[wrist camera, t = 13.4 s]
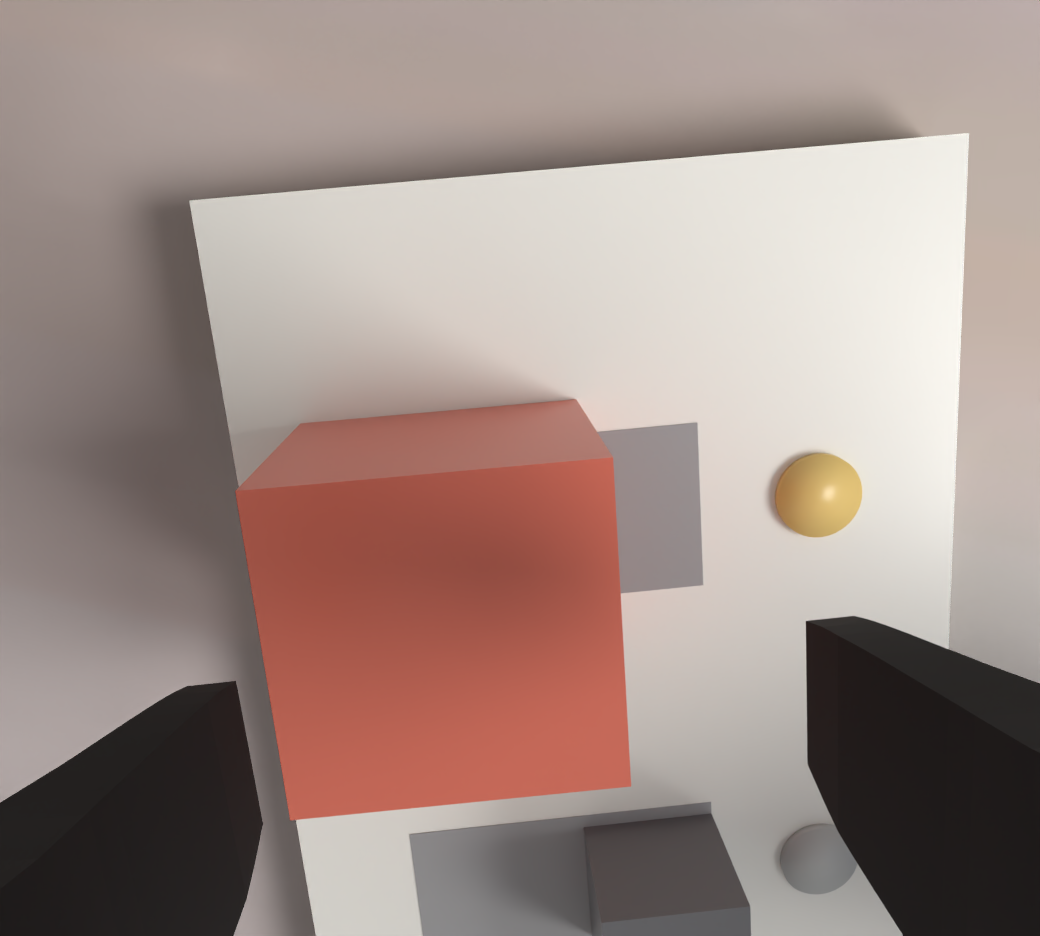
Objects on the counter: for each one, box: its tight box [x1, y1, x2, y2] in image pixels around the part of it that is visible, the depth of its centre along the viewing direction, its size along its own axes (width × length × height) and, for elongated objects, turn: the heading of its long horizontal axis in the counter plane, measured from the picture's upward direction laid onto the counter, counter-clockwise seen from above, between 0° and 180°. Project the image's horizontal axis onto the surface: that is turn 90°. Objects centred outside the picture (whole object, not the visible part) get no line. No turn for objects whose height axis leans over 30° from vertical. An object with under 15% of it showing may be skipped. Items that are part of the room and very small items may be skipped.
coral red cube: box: [235, 399, 631, 820], centre depth 16 cm, size 6×6×5 cm
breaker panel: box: [189, 133, 969, 936], centre depth 19 cm, size 15×20×4 cm
